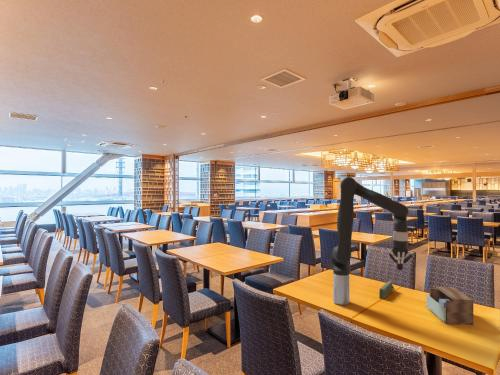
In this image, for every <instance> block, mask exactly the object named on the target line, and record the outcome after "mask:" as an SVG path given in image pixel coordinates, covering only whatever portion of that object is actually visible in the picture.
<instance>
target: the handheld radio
mask: <svg viewBox="0 0 500 375" xmlns="http://www.w3.org/2000/svg"><path fill="white" fill-rule="evenodd" d="M393 288H394V285H393V281H392V280H388V281H387V282H386V283H384V284H383V285H382V286H381V287H379V293H378V294H379V295H378V299H379V298H380V300H384V299H385V298H386V297H387V296H389V294H391V292H392V291H393Z"/></svg>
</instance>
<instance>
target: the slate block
mask: <svg viewBox="0 0 500 375" xmlns="http://www.w3.org/2000/svg"><path fill="white" fill-rule="evenodd" d="M446 300H449V299H439V304H440V305H441V306H443V307H444V308H445V309H446ZM449 301H451V300H449Z"/></svg>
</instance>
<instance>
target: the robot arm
mask: <svg viewBox="0 0 500 375" xmlns="http://www.w3.org/2000/svg"><path fill="white" fill-rule="evenodd" d="M339 188H340V200H339V205H338V211H337V216H336V229H337V235H338V236H337V237H338V243H337V246H334V247H333V249H332V250H331V251H332V252H331V266H332V270H333V272H332V273H333V275H332V276H333V284H332V300H333V304H335V305H339V306H340V305H341V306H346V305H347V306H348V305H350V303H351V300H350V293H351V292H350V269H349V266H348V263H349V262H350V261H351V260H352V236H353V228H354V227H353V226H354V218H355V214H354V213H355V212H354V210H355V207H354V201H355V200H354V198H355V195H356V196H358V197H360V198H363V199H364V200H366V201H368V202H370V203H372V204H373V205H375V206H377V207H380V208H381V209H383V210H386V211H388V212H390V213H392V214H393V228H392V229H393V232H392V248H391V251H389V252H387V255H388V256H389V258H391V260H392V262H394V263H395V264H396V269H397V270H398V271H401V272H402V270H403V269H404V264H407V263H408V262H409V261H410V259H411V258H412V257H413V254H412V253H410V252H409V250H408V249H409V247H408V244H409V235H408V221H407V220H408V219H407V218H408V214H409V208H408V206H406V205H405V204H403V203H400V202H398V201H395V200H393V199H392V198H390V197H388V196H386V195H384V194H382V193H379V192H378V191H375V190H372V189H369V188H367V187H365V186H363V185H362V184H360V183H359V182H357V181H356V180H355V179H354V178H353V177H351V176H347V177H344V178H343V179H342V180H341V181H340V186H339Z"/></svg>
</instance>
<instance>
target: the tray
mask: <svg viewBox="0 0 500 375" xmlns="http://www.w3.org/2000/svg"><path fill="white" fill-rule="evenodd" d="M425 297H426V298H425V299H426V302H425V303H426V307H427V309H429V310H430V311H431V312H432V313H433V314H434V315H435V316H437V318H439V320H441V321H442V322H444V323H446V309H445V308H444V307H443V306H441V305H440V304H439V302H436V301H435V300H434V299H433V298H431V297H430V294H426V295H425Z"/></svg>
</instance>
